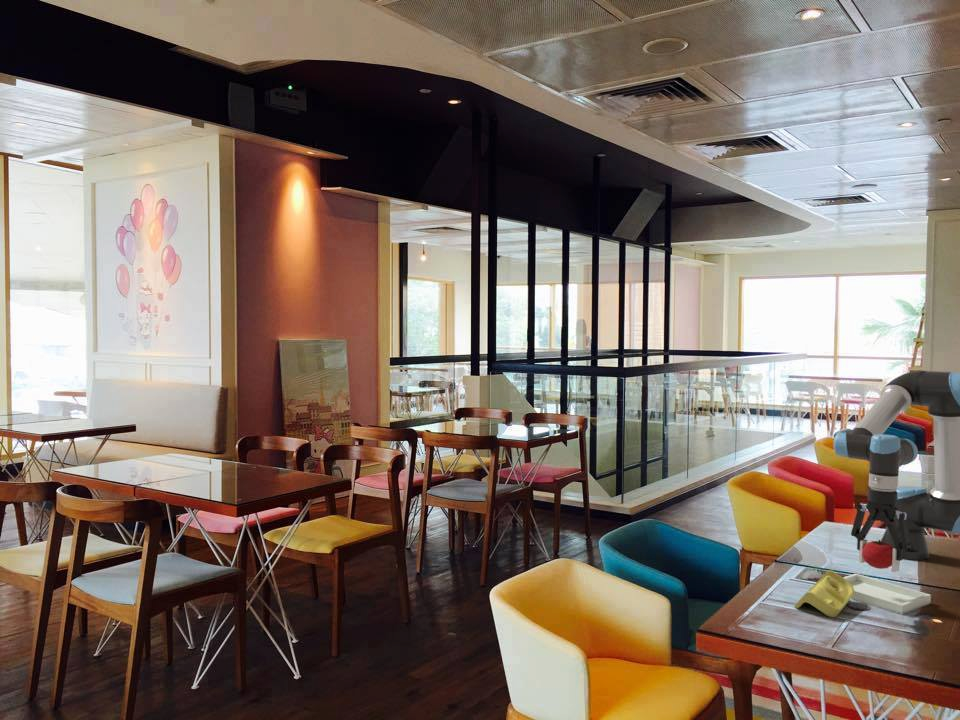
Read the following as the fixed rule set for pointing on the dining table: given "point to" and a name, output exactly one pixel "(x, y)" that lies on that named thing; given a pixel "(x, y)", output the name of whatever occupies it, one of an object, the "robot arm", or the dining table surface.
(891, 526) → the robot arm
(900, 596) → the tray
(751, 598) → the dining table surface
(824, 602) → the plastic component
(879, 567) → the tomato
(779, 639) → the dining table surface
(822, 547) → the dining table surface
